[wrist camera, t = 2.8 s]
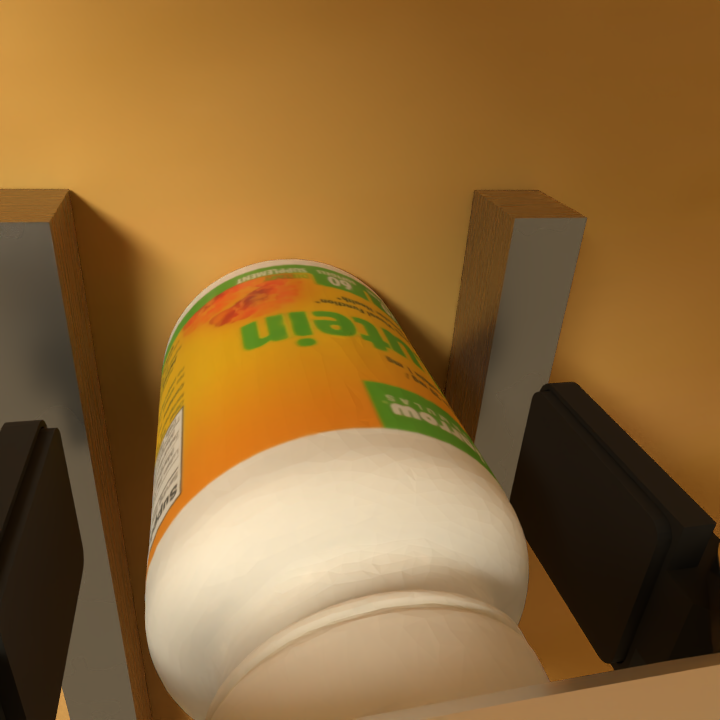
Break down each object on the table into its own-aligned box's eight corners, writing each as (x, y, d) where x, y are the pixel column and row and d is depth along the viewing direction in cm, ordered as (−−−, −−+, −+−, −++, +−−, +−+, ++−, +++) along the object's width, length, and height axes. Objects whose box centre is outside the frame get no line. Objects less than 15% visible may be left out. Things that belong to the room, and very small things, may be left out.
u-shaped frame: (-22, 189, 11) (-110, 270, 8) (538, 190, 14) (650, 253, 11) (135, 887, 24) (126, 1034, 21) (416, 822, 27) (449, 943, 23)
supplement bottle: (427, 274, 14) (745, 649, 6) (365, 466, 17) (538, 926, 8) (178, 231, 13) (162, 669, 4) (148, 451, 15) (100, 1009, 7)
